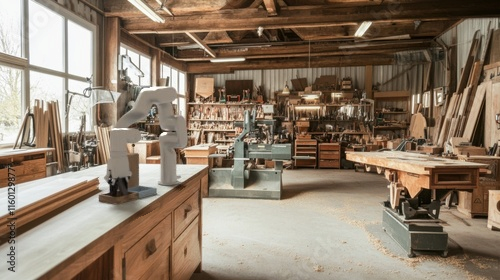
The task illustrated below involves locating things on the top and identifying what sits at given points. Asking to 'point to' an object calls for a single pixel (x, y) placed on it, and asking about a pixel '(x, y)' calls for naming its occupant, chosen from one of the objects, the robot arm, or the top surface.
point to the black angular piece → (121, 185)
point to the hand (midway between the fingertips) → (118, 191)
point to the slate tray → (143, 191)
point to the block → (133, 169)
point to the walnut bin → (117, 199)
